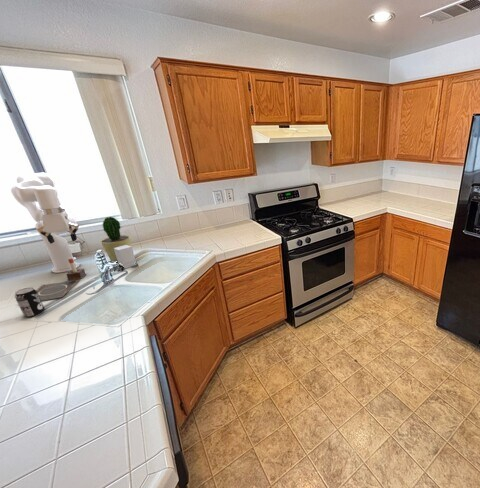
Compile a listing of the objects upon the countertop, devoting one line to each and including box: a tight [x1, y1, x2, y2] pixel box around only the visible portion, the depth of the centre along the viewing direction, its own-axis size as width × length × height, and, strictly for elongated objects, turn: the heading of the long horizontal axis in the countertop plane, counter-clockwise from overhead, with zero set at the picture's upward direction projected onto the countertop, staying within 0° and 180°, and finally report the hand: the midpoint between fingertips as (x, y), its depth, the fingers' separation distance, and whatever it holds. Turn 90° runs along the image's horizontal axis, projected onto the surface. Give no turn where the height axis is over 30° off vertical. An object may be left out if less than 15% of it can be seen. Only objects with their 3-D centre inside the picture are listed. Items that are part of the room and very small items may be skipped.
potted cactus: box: [100, 216, 132, 262], centre depth 171 cm, size 15×15×30 cm
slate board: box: [35, 279, 81, 302], centre depth 137 cm, size 20×16×1 cm
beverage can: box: [14, 286, 45, 318], centre depth 117 cm, size 7×7×12 cm
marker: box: [68, 258, 78, 272], centre depth 150 cm, size 2×2×12 cm
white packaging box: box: [114, 245, 138, 269], centre depth 165 cm, size 7×7×13 cm
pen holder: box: [65, 268, 87, 281], centre depth 152 cm, size 6×6×4 cm
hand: (63, 241), depth 145 cm, fingers open, 9 cm apart
